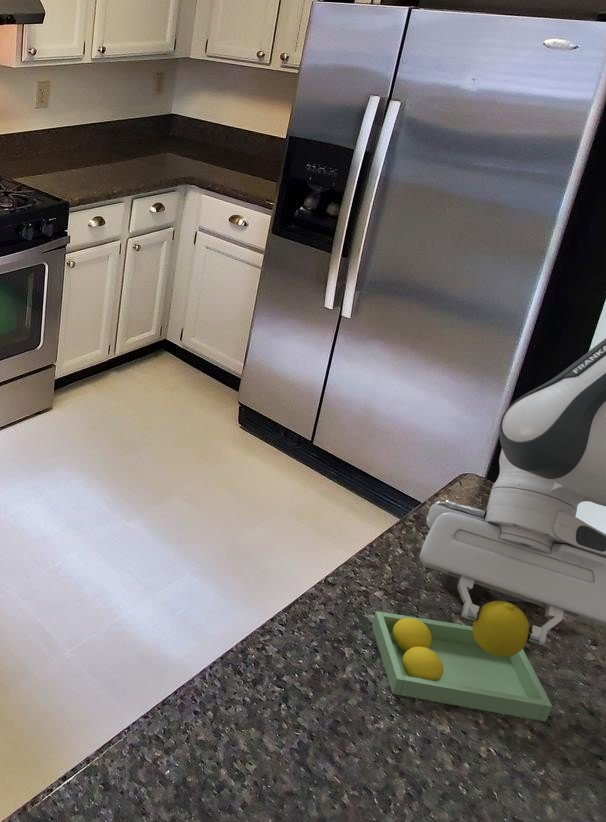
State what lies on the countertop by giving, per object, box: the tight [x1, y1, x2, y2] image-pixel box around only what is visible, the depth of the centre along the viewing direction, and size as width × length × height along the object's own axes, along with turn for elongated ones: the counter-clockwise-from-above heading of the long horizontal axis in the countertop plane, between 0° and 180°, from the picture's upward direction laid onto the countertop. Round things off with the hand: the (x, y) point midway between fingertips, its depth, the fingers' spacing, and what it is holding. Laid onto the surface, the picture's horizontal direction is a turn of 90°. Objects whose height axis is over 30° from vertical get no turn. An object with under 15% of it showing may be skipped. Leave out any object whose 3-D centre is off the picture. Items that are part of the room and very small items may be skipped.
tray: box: [371, 610, 553, 722], centre depth 101 cm, size 17×12×3 cm
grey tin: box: [439, 572, 488, 601], centre depth 113 cm, size 6×6×9 cm
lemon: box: [472, 600, 530, 657], centre depth 97 cm, size 6×6×8 cm
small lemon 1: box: [393, 618, 432, 651], centre depth 103 cm, size 4×4×4 cm
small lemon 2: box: [402, 647, 443, 681], centre depth 99 cm, size 4×4×4 cm
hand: (501, 630), depth 96 cm, fingers closed on lemon, 5 cm apart
